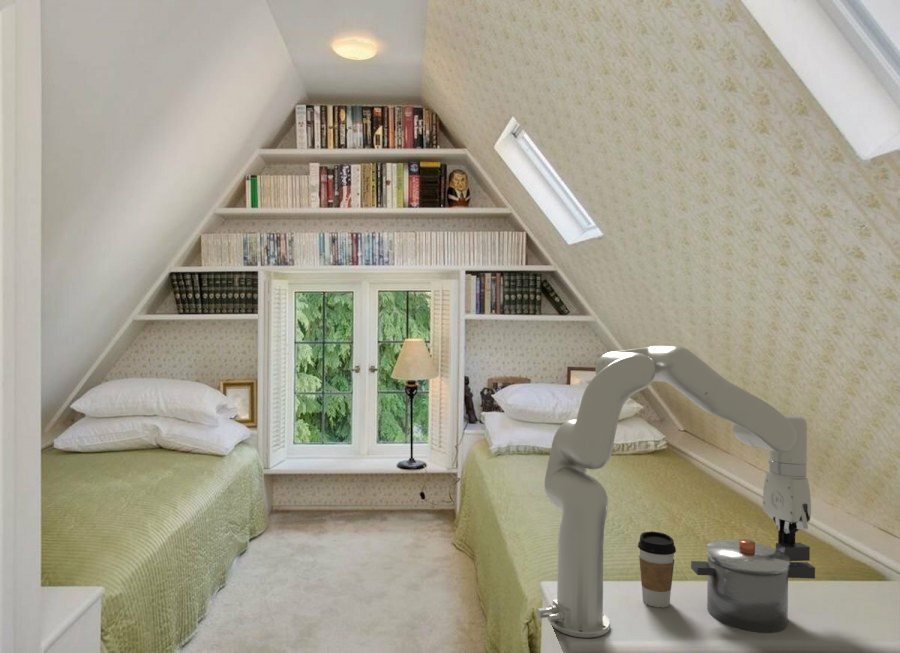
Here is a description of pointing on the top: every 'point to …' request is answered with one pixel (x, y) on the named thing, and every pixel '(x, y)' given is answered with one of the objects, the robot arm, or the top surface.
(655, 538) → the coffee cup
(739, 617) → the cooker pot
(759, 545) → the cooker lid
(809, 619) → the top surface
